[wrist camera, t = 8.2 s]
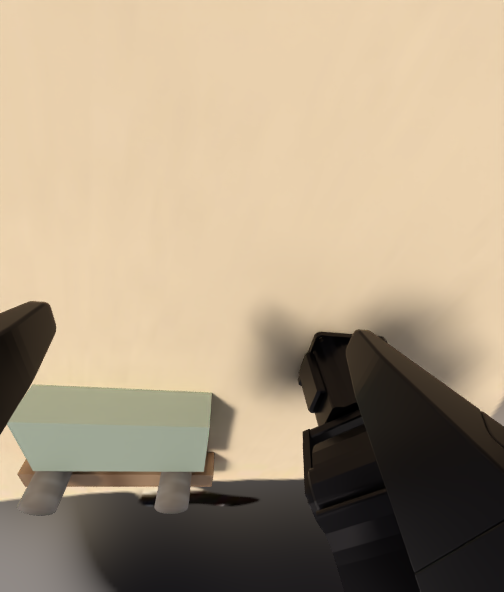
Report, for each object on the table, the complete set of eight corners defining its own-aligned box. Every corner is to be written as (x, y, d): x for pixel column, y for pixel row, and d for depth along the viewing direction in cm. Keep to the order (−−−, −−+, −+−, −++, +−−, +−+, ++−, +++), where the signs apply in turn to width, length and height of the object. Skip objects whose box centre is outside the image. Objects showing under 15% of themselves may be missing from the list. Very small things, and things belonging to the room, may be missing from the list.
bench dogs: (216, 438, 32) (214, 500, 27) (212, 464, 35) (209, 522, 30) (23, 434, 29) (-19, 501, 24) (38, 462, 32) (3, 526, 27)
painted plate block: (212, 389, 28) (209, 427, 24) (206, 434, 32) (203, 471, 29) (35, 381, 25) (5, 422, 22) (55, 430, 30) (33, 471, 26)
